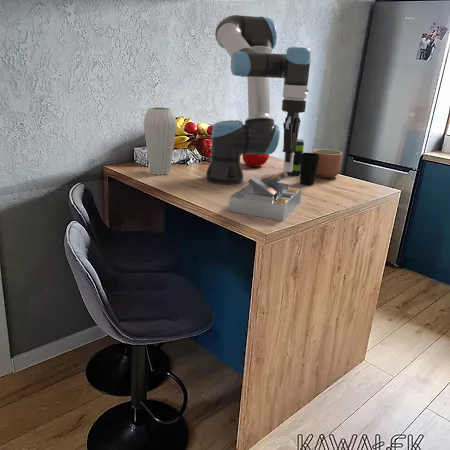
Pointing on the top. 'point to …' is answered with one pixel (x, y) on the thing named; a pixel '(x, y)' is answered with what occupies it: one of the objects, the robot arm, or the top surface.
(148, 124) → the vase
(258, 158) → the tomato
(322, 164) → the planter
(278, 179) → the switch
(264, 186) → the switch
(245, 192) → the switch unit
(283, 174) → the switch
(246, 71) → the robot arm
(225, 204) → the top surface
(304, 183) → the cup
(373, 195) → the top surface
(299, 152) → the beverage can
